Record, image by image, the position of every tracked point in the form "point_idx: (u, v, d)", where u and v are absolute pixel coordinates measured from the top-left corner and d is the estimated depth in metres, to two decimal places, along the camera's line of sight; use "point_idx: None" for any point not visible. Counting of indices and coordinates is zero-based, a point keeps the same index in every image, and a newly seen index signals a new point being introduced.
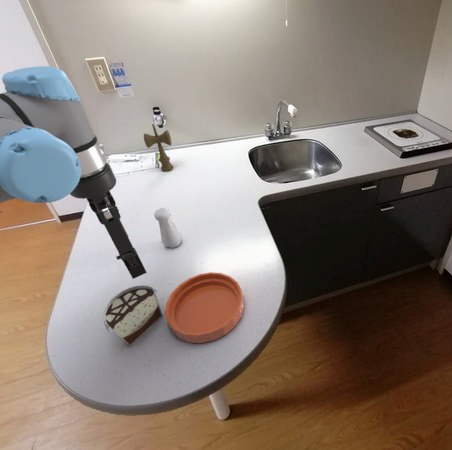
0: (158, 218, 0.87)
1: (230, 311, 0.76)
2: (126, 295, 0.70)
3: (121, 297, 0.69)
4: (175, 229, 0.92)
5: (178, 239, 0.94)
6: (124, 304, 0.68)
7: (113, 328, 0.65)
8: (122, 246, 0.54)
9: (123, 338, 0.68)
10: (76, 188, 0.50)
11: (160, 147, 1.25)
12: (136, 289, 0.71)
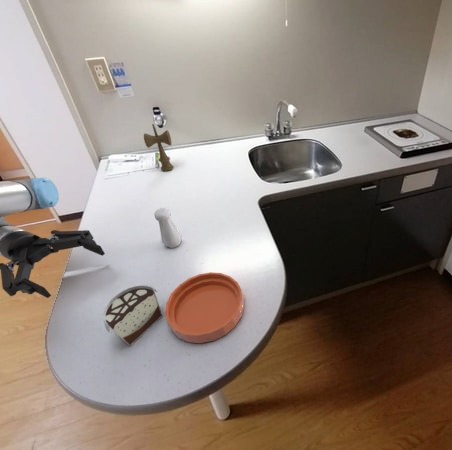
0: (158, 218, 0.87)
1: (230, 311, 0.76)
2: (126, 295, 0.70)
3: (121, 297, 0.69)
4: (175, 229, 0.92)
5: (178, 239, 0.94)
6: (124, 304, 0.68)
7: (113, 328, 0.65)
8: None
9: (123, 338, 0.68)
10: (28, 232, 0.76)
11: (160, 147, 1.25)
12: (136, 289, 0.71)
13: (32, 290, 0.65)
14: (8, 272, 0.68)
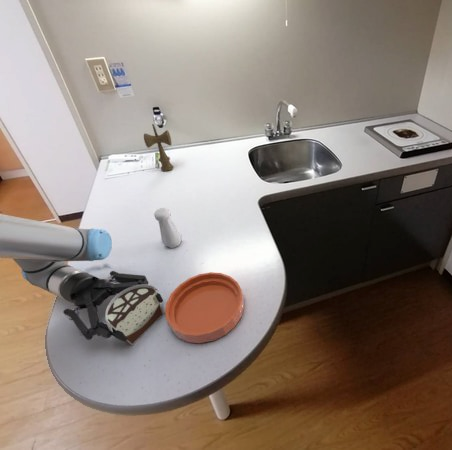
0: (158, 218, 0.87)
1: (230, 311, 0.76)
2: (128, 295, 0.70)
3: (122, 296, 0.70)
4: (175, 229, 0.92)
5: (178, 239, 0.94)
6: (125, 304, 0.68)
7: (115, 327, 0.65)
8: None
9: None
10: (86, 273, 0.76)
11: (160, 147, 1.25)
12: (137, 288, 0.71)
13: (109, 334, 0.66)
14: (78, 317, 0.68)
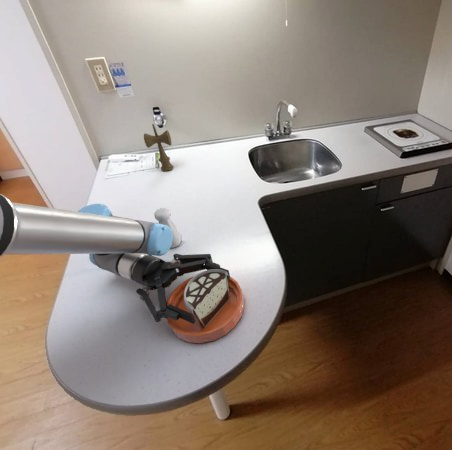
0: (158, 218, 0.87)
1: (230, 311, 0.76)
2: (201, 279, 0.72)
3: (196, 280, 0.72)
4: (175, 229, 0.92)
5: (178, 239, 0.94)
6: (200, 287, 0.71)
7: (195, 309, 0.67)
8: None
9: (201, 319, 0.70)
10: (153, 256, 0.78)
11: (160, 147, 1.25)
12: (209, 273, 0.74)
13: (178, 316, 0.67)
14: (149, 298, 0.70)
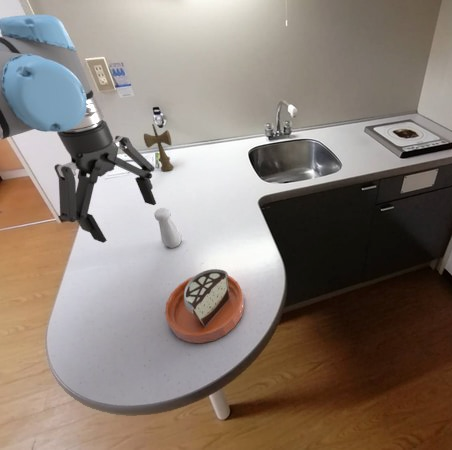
0: (158, 218, 0.87)
1: (230, 311, 0.76)
2: (201, 279, 0.72)
3: (196, 280, 0.72)
4: (175, 229, 0.92)
5: (178, 239, 0.94)
6: (200, 287, 0.71)
7: (195, 309, 0.67)
8: (63, 206, 0.53)
9: (201, 319, 0.70)
10: None
11: (160, 147, 1.25)
12: (209, 273, 0.74)
13: None
14: (128, 154, 0.63)
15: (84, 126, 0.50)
